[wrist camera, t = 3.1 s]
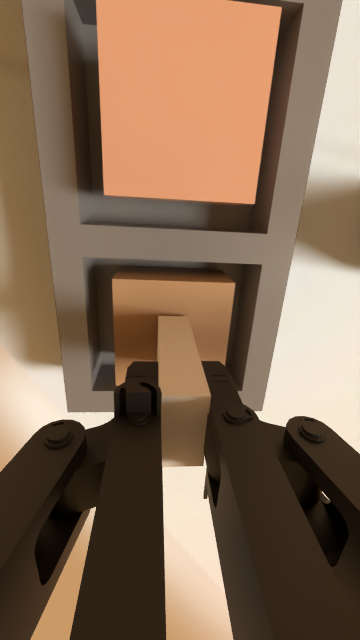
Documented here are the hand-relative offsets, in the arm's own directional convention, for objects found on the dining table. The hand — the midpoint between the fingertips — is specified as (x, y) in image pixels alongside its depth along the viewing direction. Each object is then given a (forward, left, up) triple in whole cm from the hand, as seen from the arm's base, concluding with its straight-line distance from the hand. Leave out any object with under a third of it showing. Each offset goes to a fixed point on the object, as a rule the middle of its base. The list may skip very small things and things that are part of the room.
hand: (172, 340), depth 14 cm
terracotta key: (-10, 0, -2) cm, 10 cm away
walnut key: (0, 0, -3) cm, 3 cm away
